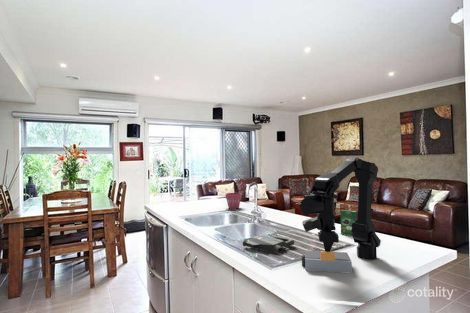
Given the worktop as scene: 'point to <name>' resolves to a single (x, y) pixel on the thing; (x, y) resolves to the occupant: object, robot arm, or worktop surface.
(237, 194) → the plant pot
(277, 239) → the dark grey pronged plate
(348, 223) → the coffee box
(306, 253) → the cabinet housing
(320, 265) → the door
